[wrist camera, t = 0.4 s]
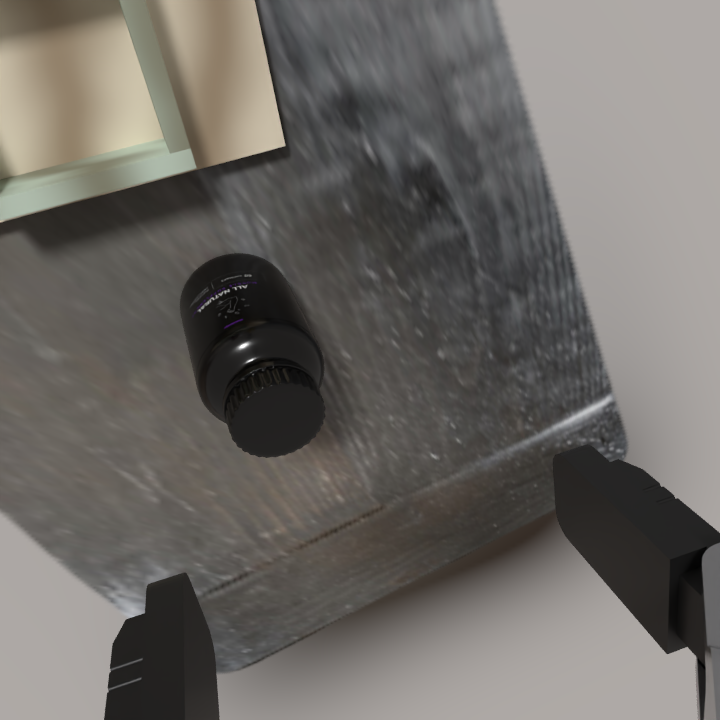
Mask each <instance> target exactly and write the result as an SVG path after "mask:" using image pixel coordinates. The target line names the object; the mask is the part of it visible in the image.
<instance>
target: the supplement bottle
mask: <svg viewBox="0 0 720 720" xmlns="http://www.w3.org/2000/svg"><path fill="white" fill-rule="evenodd" d="M180 312H181V318H182V323H183V328H184V332H185V336H186V341H187V345H188V350H189V354H190V358H191V363H192V367H193V372H194V376H195V380H196V385H197V389H198V392H199V395H200V397H201V400H202V402H203V403H204V405H205V406H206V408H207V409H208V410H209V411H210V412H211V413H212V414H213V415H214V416H215V417H216V418H218V419H219V420H221V421H223V422H224V423H227V425H228V428H229V432H230V434H231V436H232V439H233V441H234V442H235V443H236V444H237V446H238V447H239V448H242V450H243V451H244V452H248V453H249V454H250V455H256V456H258V457H266V458H268V457H278V456H281V455H286V454H288V453H292V452H294V451H296V450H297V449H300V448H302V447H303V446H304V445H306V444H308V443H309V442H310V441H311V439H313V438H314V437H315V436H316V434H317V433H318V432H319V431H320V427H321V426H322V424H323V419H324V418H325V413H324V412H325V406H324V401H323V398H322V396H321V394H320V390H319V389H320V387H321V384H322V380H323V376H324V360H323V355H322V352H321V350H320V347H319V345H318V343H317V341H316V339H315V337H314V335H313V333H312V331H311V329H310V327H309V325H308V323H307V321H306V319H305V317H304V315H303V313H302V311H301V309H300V307H299V305H298V303H297V301H296V299H295V297H294V295H293V293H292V291H291V289H290V287H289V285H288V283H287V281H286V280H285V278H284V276H283V275H282V274H281V272H280V271H279V270H278V269H277V268H276V267H275V266H274V265H273V264H271V263H270V262H268V261H266V260H265V259H263V258H260V257H258V256H254V255H250V254H243V253H235V254H227V255H223V256H219V257H216V258H214V259H212V260H210V261H208V262H206V263H204V264H203V265H202V266H200V267H199V268H198V269H197V270H196V271H195V272H194V273H193V274H192V275H191V276H190V277H189V279H188V281H187V282H186V284H185V286H184V288H183V291H182V294H181V299H180Z"/></svg>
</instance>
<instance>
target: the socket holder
mask: <svg viewBox="0 0 720 720" xmlns="http://www.w3.org/2000/svg"><path fill="white" fill-rule="evenodd" d="M284 146H285V141H284V137H283V132H282V127H281V122H280V118H279V113H278V108H277V104H276V99H275V94H274V89H273V85H272V80H271V75H270V71H269V66H268V61H267V56H266V52H265V47H264V42H263V38H262V33H261V28H260V23H259V19H258V14H257V9H256V5H255V0H0V222H4V221H8V220H11V219H15V218H19V217H22V216H26V215H30V214H34V213H37V212H41V211H45V210H49V209H52V208H56V207H60V206H64V205H67V204H71V203H75V202H79V201H82V200H86V199H90V198H93V197H97V196H101V195H105V194H108V193H112V192H116V191H120V190H123V189H127V188H131V187H135V186H138V185H142V184H146V183H150V182H153V181H157V180H161V179H164V178H168V177H172V176H176V175H179V174H183V173H187V172H191V171H194V170H198V169H202V168H206V167H209V166H213V165H217V164H220V163H224V162H228V161H232V160H235V159H239V158H243V157H247V156H250V155H254V154H258V153H262V152H265V151H269V150H273V149H277V148H280V147H284Z"/></svg>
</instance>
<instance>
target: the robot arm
mask: <svg viewBox="0 0 720 720" xmlns="http://www.w3.org/2000/svg"><path fill="white" fill-rule="evenodd" d="M553 474H554V489H555V505H556V514H557V518H558V521H559V524H560V526H561V528H562V531H563V532H564V534H565V536H566V537H567V538H568V540H569V541H570V542H571V543H572V545H573V546H574V547H575V548H576V549H577V550H578V551H579V553H580V554H581V555H582V556H583V557H584V558H585V560H586V561H587V562H588V563H589V564H590V565H591V567H592V568H593V569H594V570H595V571H596V572H597V573H598V575H599V576H600V577H601V578H602V579H603V580H604V582H605V583H606V584H607V585H608V586H609V587H610V589H611V590H612V591H613V592H614V593H615V594H616V596H617V597H618V598H619V599H620V600H621V601H622V602H623V604H624V605H625V606H626V607H627V608H628V609H629V611H630V612H631V613H632V614H633V615H634V616H635V618H636V619H637V620H638V621H639V622H640V623H641V624H642V626H643V627H644V628H645V629H646V630H647V632H648V633H649V634H650V635H651V636H652V637H653V638H654V640H655V641H656V642H657V643H658V644H659V645H660V647H661V648H662V649H663V650H664V651H665V652H666V653H667V654H669V653H672V652H674V651H677V650H680V649H682V648H685V647H688V648H689V649H690V650H691V651H692V652H693V653H694V654H695V655H696V687H697V708H698V720H720V533H719V532H718V531H717V530H715V529H714V528H713V527H712V526H711V525H709V524H708V523H707V522H706V521H705V520H703V519H702V518H701V517H700V516H699V515H697V514H696V513H695V512H693V511H692V510H691V509H690V508H689V507H688V506H686V505H685V504H684V503H683V502H682V501H680V500H679V499H675V497H674V495H673V494H672V493H671V492H669V491H668V490H667V489H666V488H664V487H661V486H660V483H659V482H657V481H656V480H655V479H654V478H653V477H651V476H650V475H649V474H648V473H646V472H645V471H644V470H643V469H641V468H638V467H636V466H633V465H631V464H629V463H626V462H624V461H621V460H619V459H618V460H615V461H612V462H609V461H608V460H607V459H606V458H605V457H604V456H603V455H601V454H600V453H599V452H598V451H597V450H596V449H595V448H593V447H592V446H590V445H584V446H581V447H578V448H575V449H571V450H568V451H565V452H562V453H559V454H556V455H555V456H554V458H553ZM110 669H111V672H110V674H109V682H108V690H109V692H108V693H107V700H106V708H105V718H104V720H219V705H218V691H217V677H216V662H215V653H214V647H213V642H212V638H211V634H210V631H209V628H208V625H207V622H206V620H205V617H204V615H203V612H202V610H201V607H200V605H199V602H198V599H197V597H196V594H195V592H194V589H193V587H192V584H191V582H190V579H189V577H188V575H187V574H186V573H182V574H178V575H175V576H172V577H169V578H166V579H163V580H160V581H157V582H153V583H150V584H148V586H147V590H146V607H145V614H141V615H138V616H135V617H132V618H129V619H126V620H125V622H124V624H123V626H122V628H121V630H120V632H119V634H118V635H117V637H116V639H115V641H114V643H113V646H112V656H111V664H110Z"/></svg>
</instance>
